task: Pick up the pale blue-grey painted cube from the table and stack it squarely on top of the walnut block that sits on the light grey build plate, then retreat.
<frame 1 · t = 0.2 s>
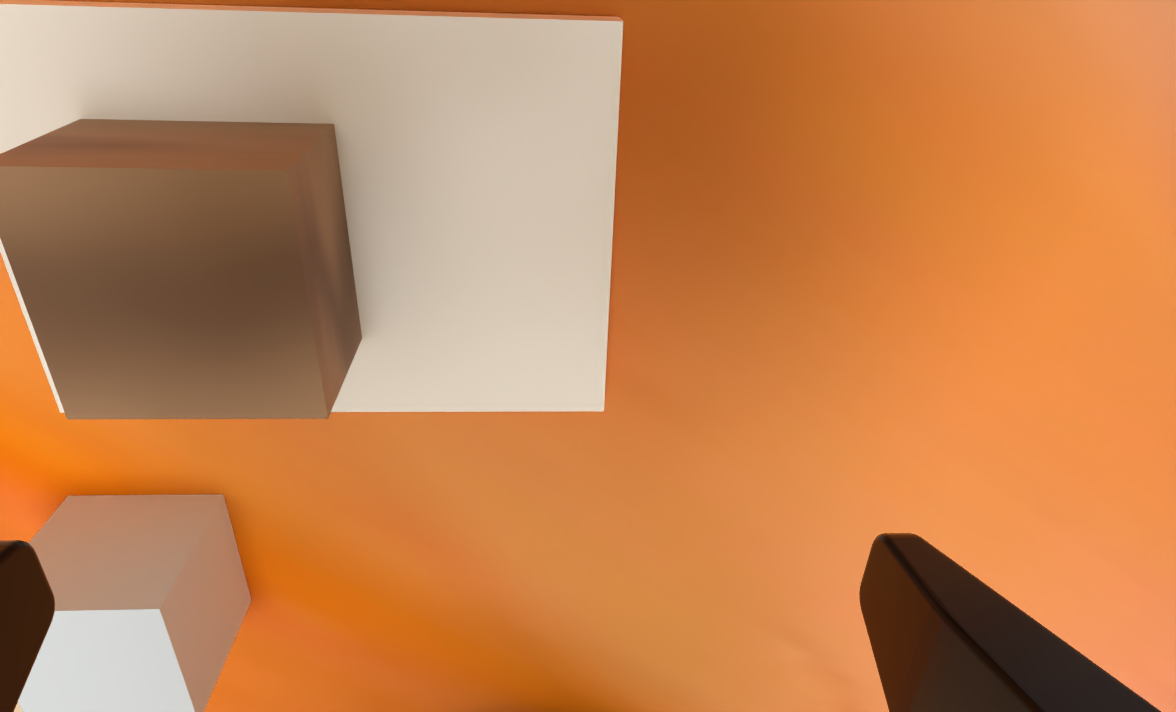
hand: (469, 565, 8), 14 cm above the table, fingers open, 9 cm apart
base block: (232, 237, 20), point 1 cm above the table, touching build plate
build plate: (320, 225, 21), on the table
top block: (165, 549, 27), on the table
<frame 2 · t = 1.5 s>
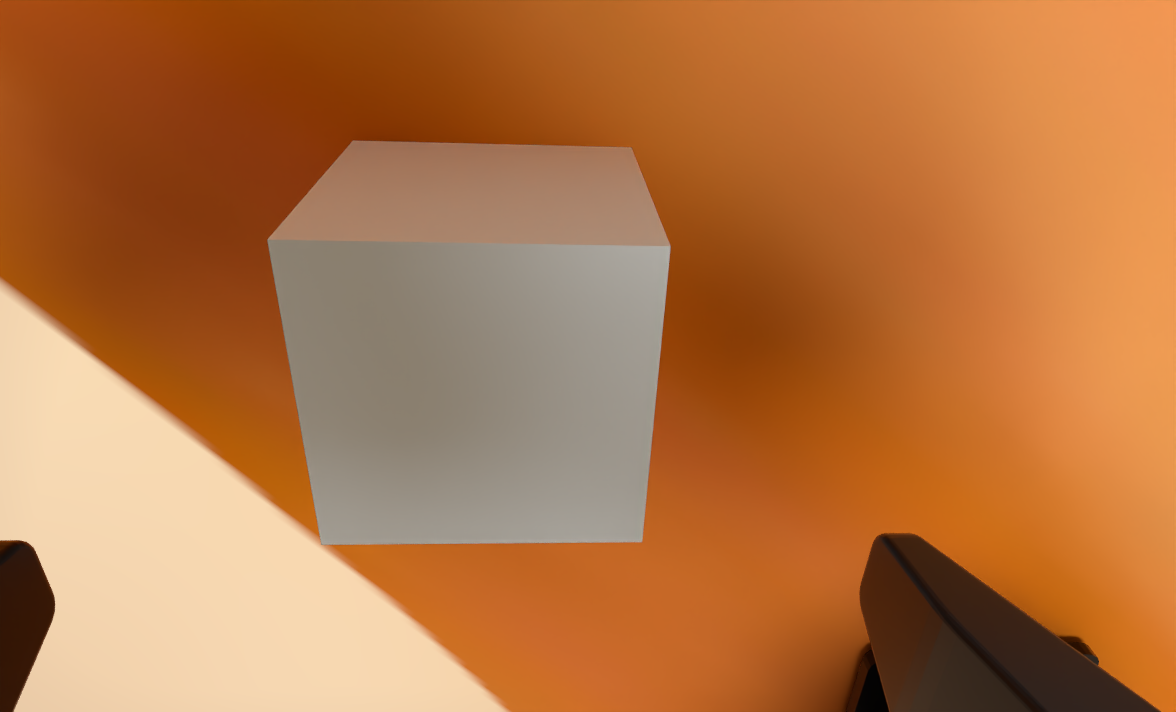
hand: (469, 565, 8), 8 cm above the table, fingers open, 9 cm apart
top block: (496, 270, 15), on the table
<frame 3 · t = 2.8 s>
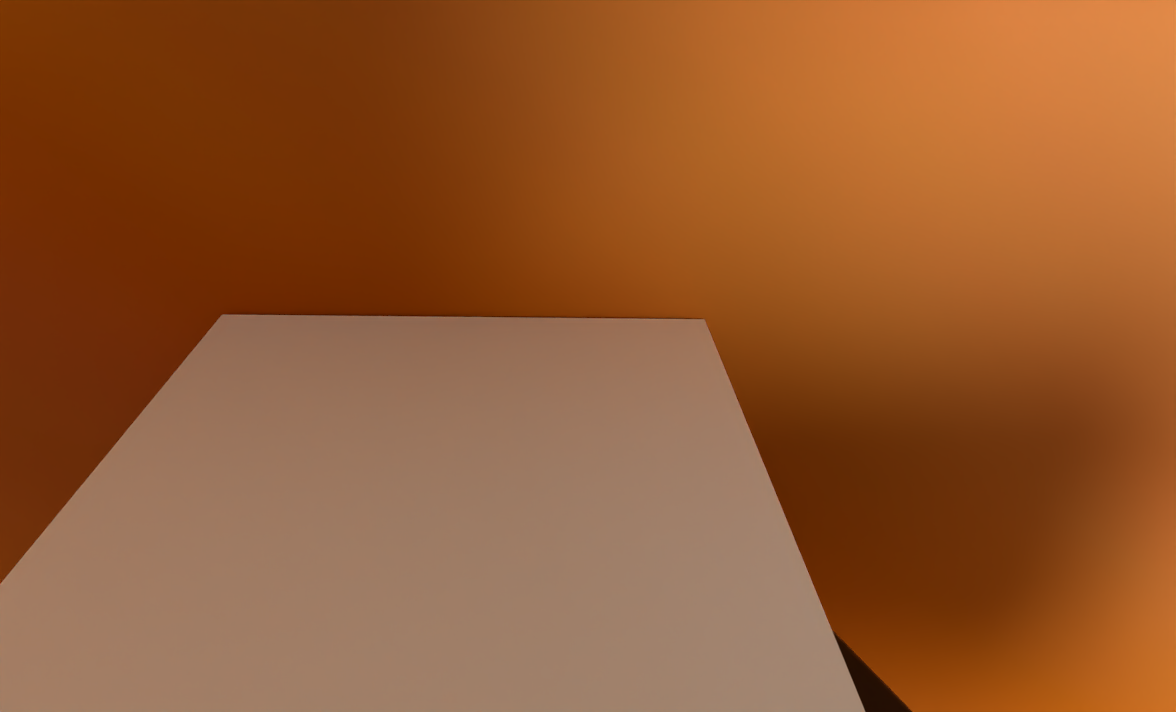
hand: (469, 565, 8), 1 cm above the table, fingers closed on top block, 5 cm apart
top block: (476, 502, 9), on the table, touching gripper
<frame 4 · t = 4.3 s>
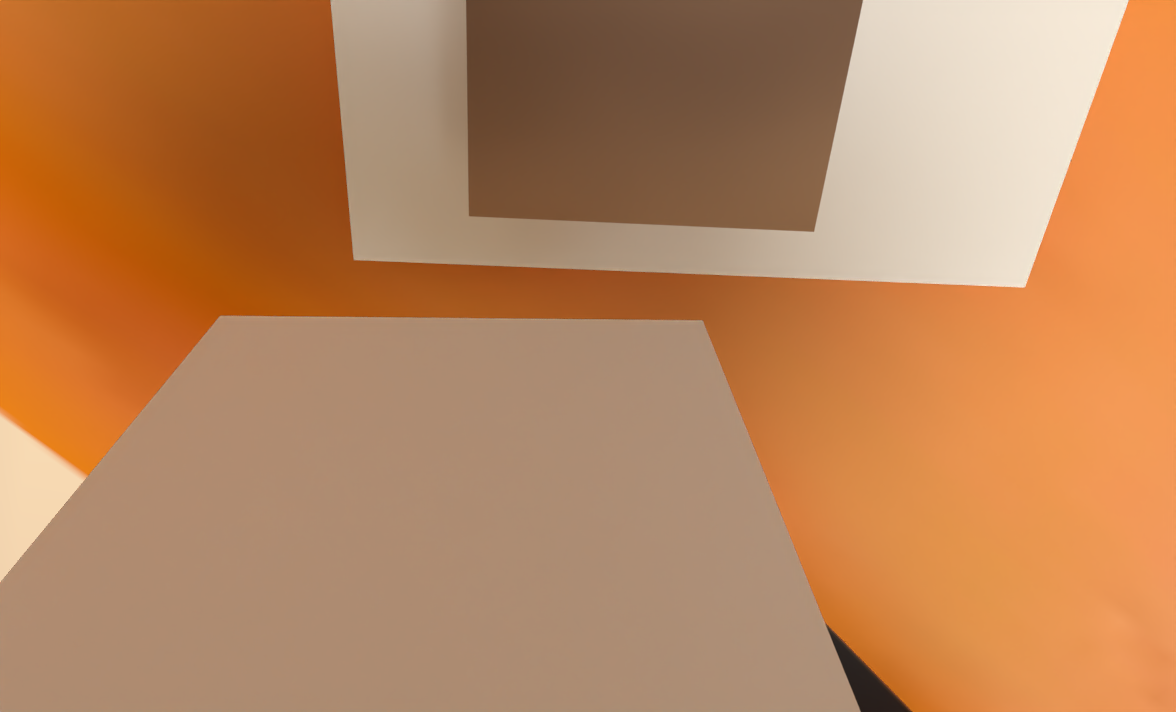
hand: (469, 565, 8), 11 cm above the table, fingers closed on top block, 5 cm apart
base block: (636, 14, 15), point 1 cm above the table, touching build plate
build plate: (725, 16, 16), on the table
top block: (474, 503, 9), point 10 cm above the table, touching gripper
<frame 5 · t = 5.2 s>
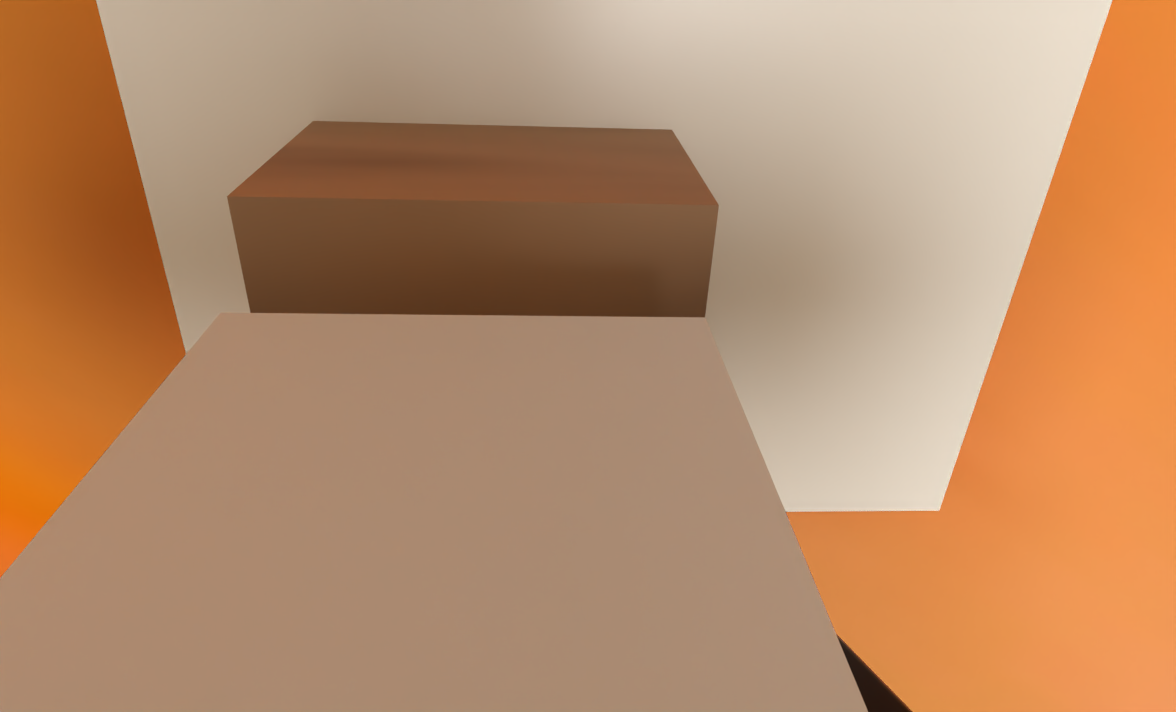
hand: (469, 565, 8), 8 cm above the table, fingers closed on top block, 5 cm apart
base block: (498, 288, 14), point 1 cm above the table, touching build plate
build plate: (601, 268, 15), on the table
top block: (476, 502, 9), point 7 cm above the table, touching gripper
when the fingers open (7 cm above the table, at t = 5.8 s): top block stays where it is, resting on base block.
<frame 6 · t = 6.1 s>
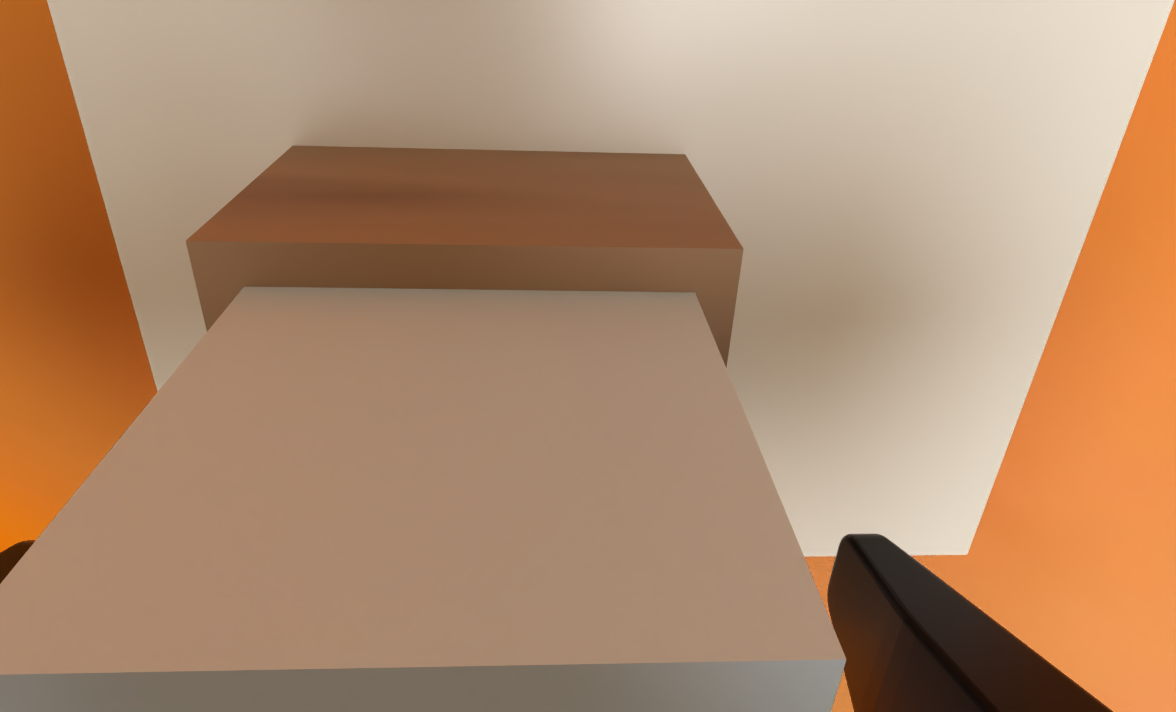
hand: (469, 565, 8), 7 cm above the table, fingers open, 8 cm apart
base block: (496, 323, 13), point 1 cm above the table, touching build plate, top block
build plate: (607, 300, 14), on the table
top block: (480, 468, 10), point 5 cm above the table, touching base block
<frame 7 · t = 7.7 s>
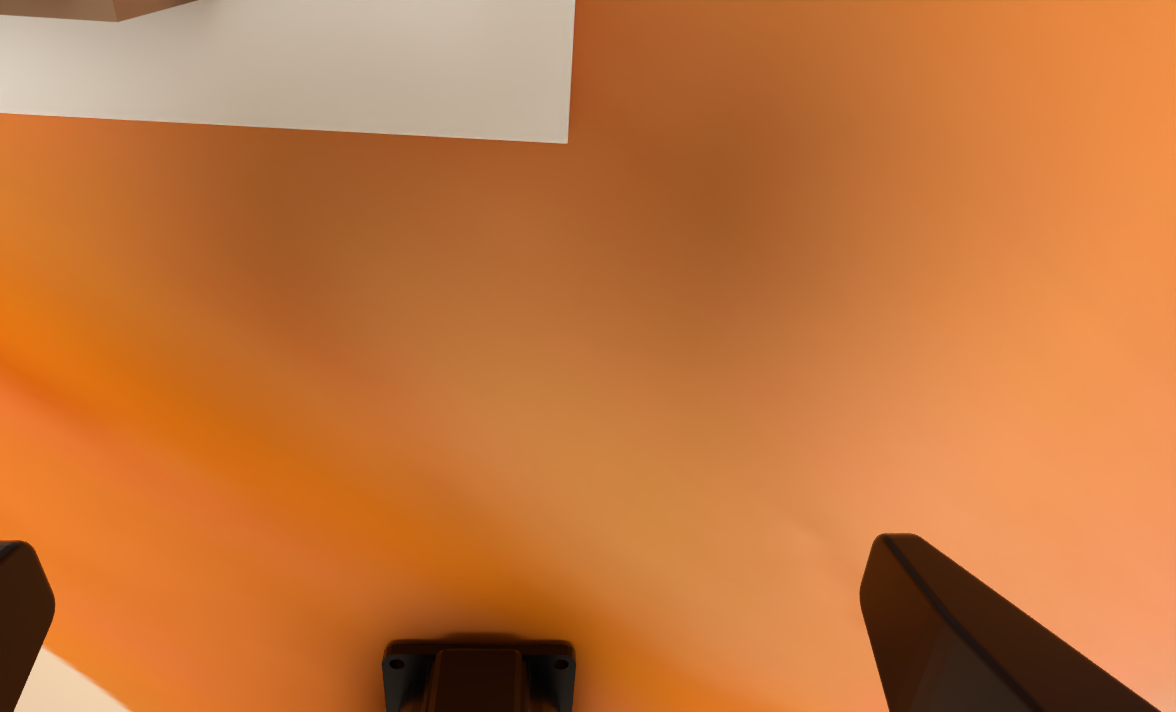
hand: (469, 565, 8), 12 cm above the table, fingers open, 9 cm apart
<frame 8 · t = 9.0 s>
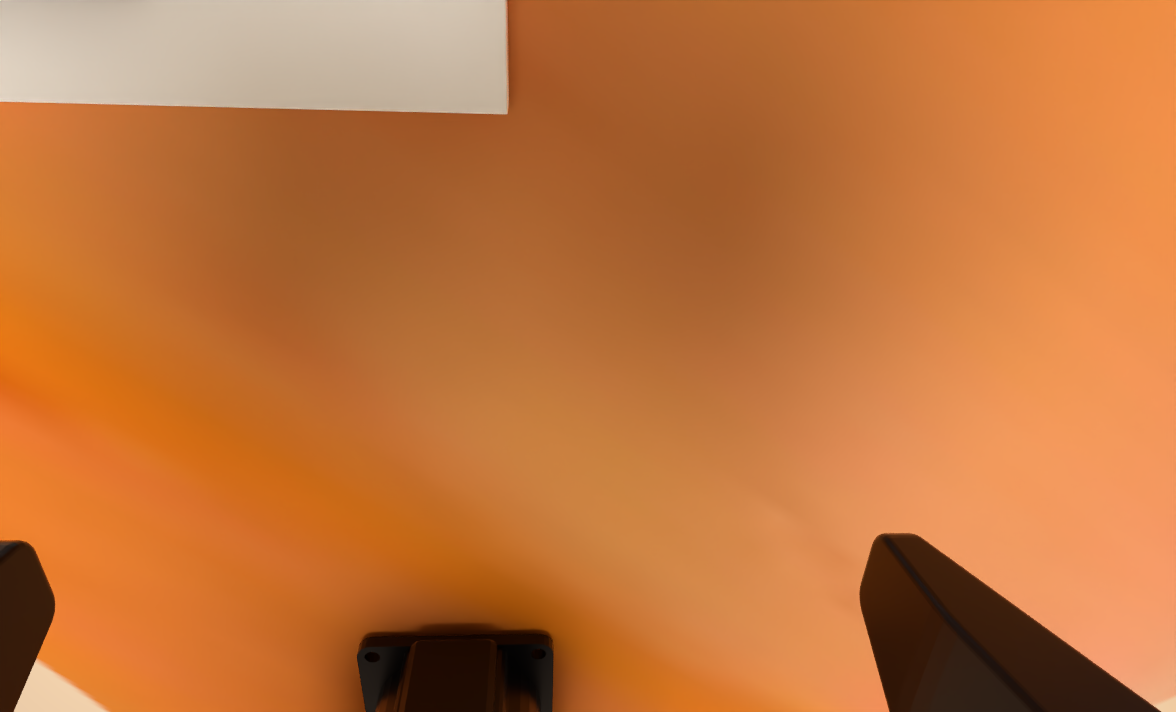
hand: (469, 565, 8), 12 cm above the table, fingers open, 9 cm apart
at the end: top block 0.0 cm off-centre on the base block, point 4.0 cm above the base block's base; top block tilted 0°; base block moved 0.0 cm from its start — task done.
